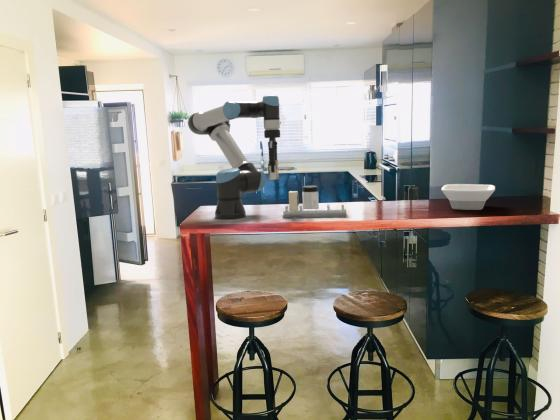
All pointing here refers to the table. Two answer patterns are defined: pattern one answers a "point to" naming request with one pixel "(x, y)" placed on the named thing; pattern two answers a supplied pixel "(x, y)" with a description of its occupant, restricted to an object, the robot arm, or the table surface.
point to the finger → (276, 171)
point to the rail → (309, 213)
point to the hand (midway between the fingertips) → (274, 178)
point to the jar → (310, 197)
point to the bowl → (468, 195)
